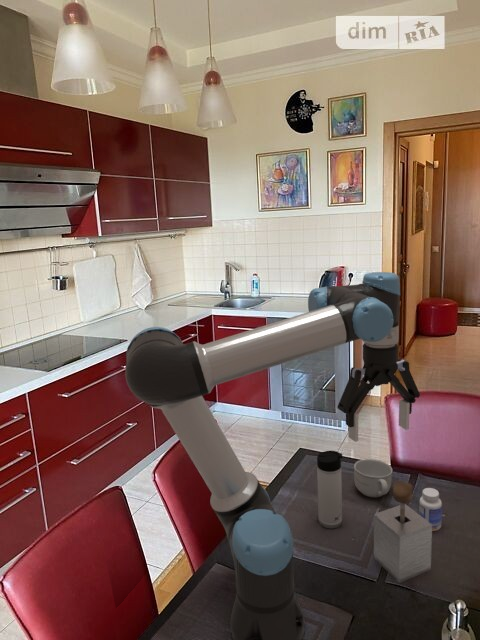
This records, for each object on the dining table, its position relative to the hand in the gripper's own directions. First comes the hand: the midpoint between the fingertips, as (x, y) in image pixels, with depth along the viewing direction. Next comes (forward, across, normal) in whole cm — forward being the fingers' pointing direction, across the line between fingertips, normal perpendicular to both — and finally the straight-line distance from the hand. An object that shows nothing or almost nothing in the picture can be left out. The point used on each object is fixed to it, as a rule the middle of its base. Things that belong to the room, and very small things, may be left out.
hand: (379, 433), depth 112 cm
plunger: (+29, +3, -5) cm, 30 cm away
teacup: (+32, +14, +21) cm, 41 cm away
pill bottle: (+32, +19, +4) cm, 37 cm away
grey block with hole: (+32, +3, -4) cm, 32 cm away
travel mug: (+32, -4, +16) cm, 36 cm away
